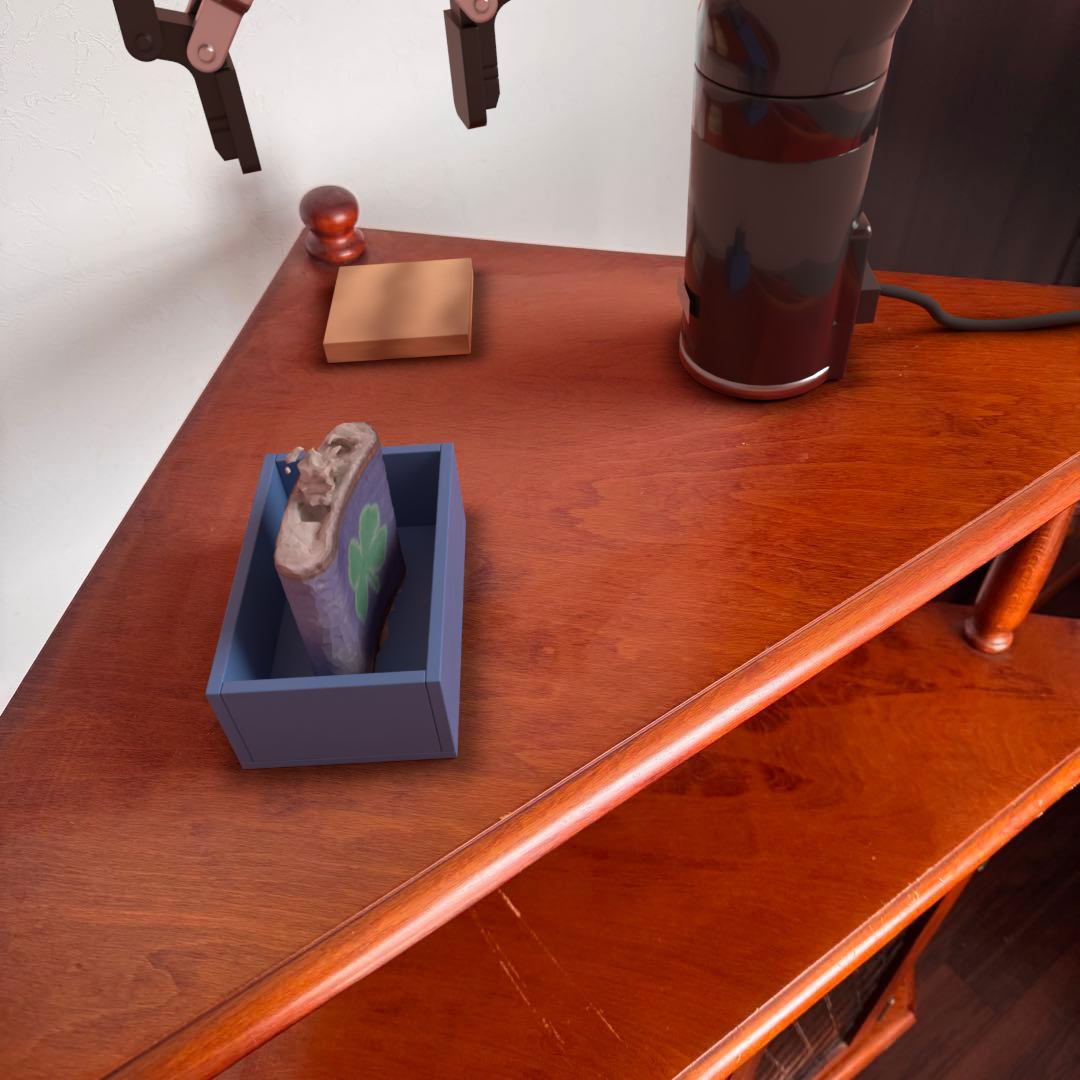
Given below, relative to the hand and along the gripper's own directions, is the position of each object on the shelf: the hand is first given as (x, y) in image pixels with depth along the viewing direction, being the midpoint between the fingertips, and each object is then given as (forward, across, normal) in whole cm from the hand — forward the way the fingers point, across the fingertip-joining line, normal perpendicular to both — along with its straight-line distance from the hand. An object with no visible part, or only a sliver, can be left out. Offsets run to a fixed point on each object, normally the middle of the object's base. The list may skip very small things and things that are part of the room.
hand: (363, 142), depth 38 cm
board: (+20, +3, +20) cm, 28 cm away
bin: (+20, -5, -6) cm, 22 cm away
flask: (+20, -5, -6) cm, 22 cm away
